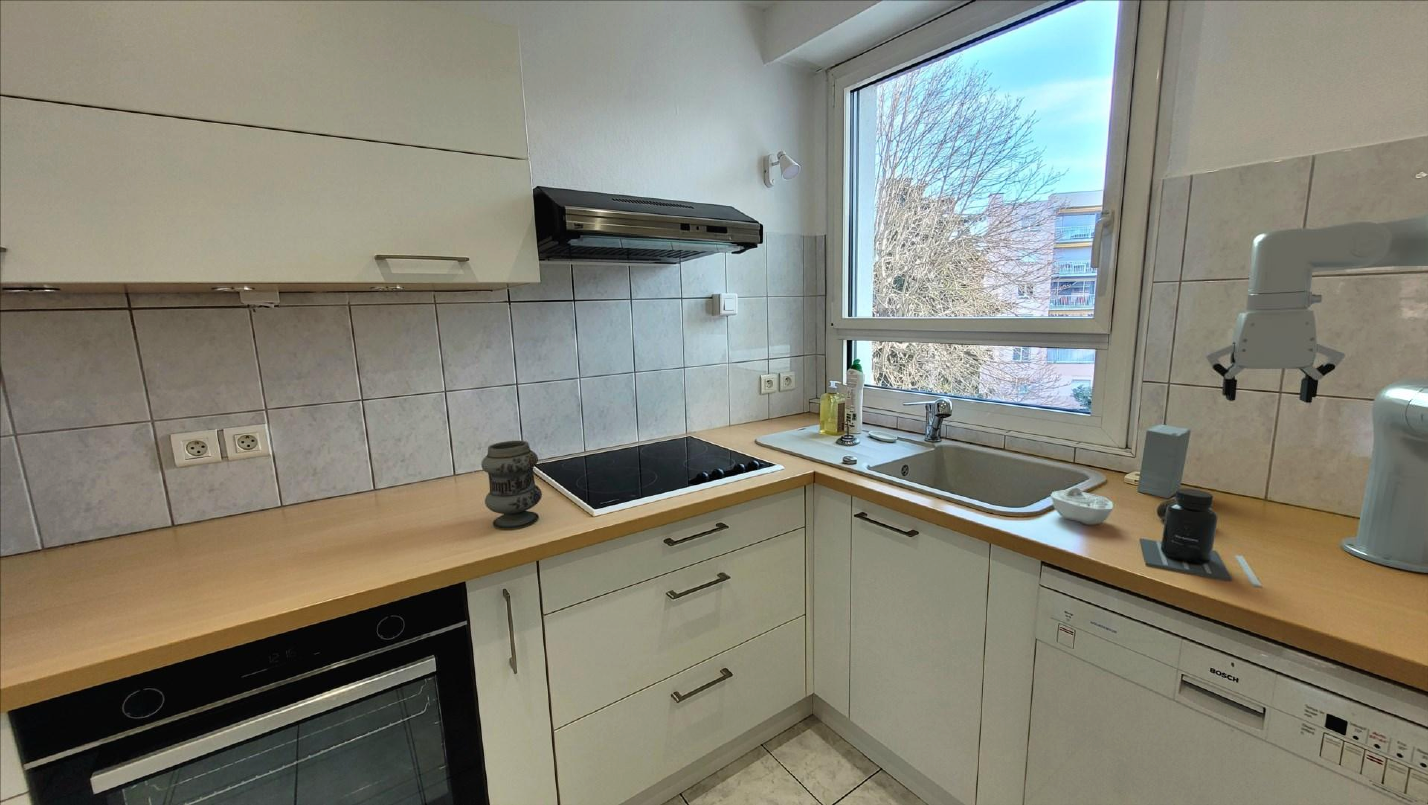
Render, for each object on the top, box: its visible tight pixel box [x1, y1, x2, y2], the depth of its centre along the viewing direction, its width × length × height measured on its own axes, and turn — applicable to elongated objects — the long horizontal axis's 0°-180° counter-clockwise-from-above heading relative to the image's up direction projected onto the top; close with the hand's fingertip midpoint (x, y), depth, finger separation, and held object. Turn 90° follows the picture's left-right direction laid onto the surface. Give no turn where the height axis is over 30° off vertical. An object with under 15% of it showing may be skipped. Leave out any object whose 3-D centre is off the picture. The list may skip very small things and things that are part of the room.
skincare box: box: [1137, 424, 1192, 499], centre depth 129 cm, size 8×7×16 cm
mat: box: [1139, 537, 1233, 582], centre depth 96 cm, size 11×12×1 cm
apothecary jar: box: [480, 440, 543, 531], centre depth 120 cm, size 12×12×18 cm
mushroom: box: [1156, 496, 1176, 521], centre depth 111 cm, size 8×8×6 cm
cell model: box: [1050, 486, 1115, 526], centre depth 114 cm, size 10×12×7 cm
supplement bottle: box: [1160, 487, 1219, 564], centre depth 95 cm, size 7×7×12 cm
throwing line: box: [1234, 554, 1262, 588], centre depth 91 cm, size 1×12×1 cm, turn 146°
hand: (1266, 400), depth 96 cm, fingers open, 9 cm apart
